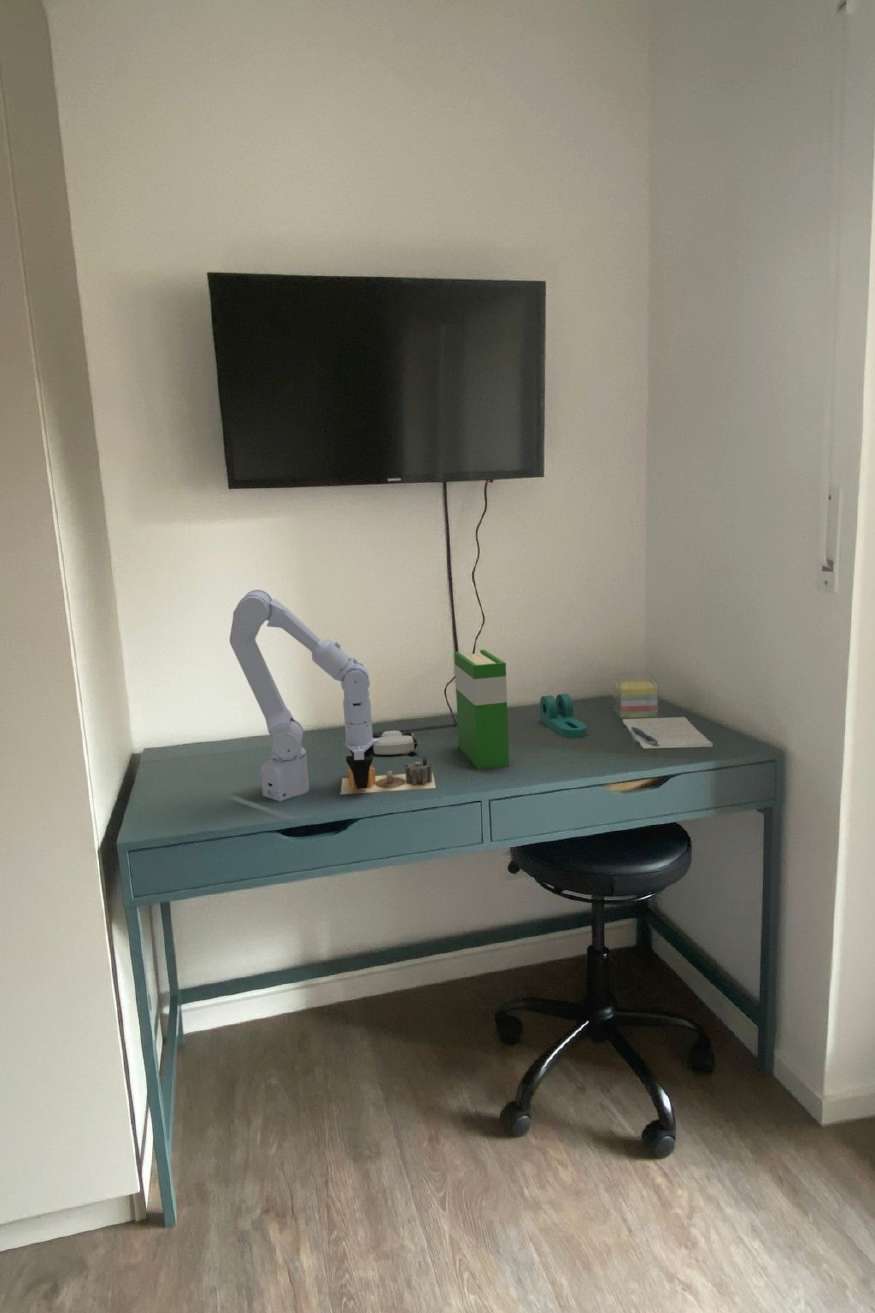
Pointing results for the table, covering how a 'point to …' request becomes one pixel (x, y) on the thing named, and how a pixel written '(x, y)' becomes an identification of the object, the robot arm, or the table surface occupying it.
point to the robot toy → (394, 743)
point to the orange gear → (370, 778)
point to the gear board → (398, 780)
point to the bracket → (561, 716)
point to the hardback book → (482, 709)
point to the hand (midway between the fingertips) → (362, 781)
